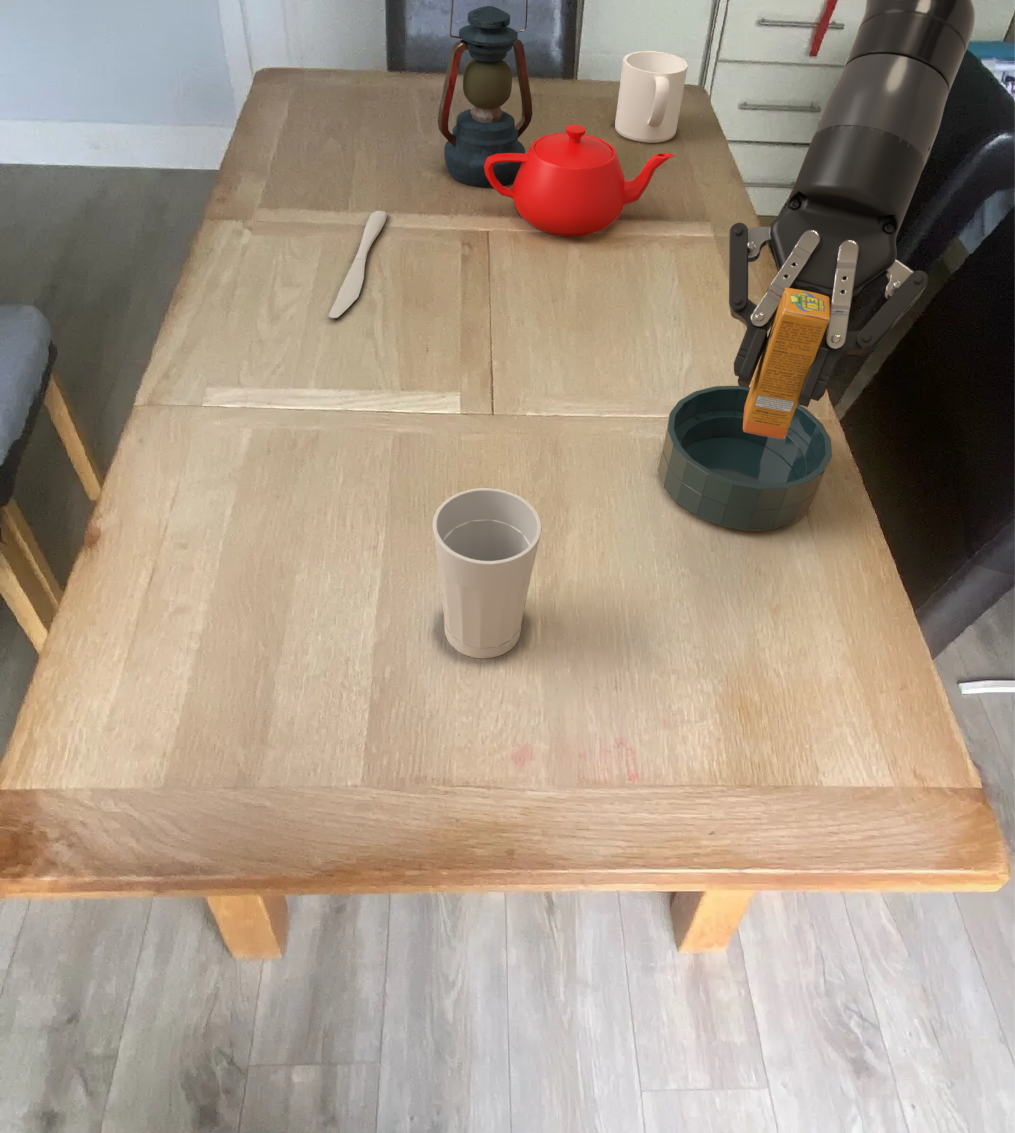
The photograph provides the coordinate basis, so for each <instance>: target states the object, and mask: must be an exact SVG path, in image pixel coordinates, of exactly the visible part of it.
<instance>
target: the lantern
mask: <svg viewBox="0 0 1015 1133" xmlns="http://www.w3.org/2000/svg"><path fill="white" fill-rule="evenodd" d="M454 1H455V0H451V5H450V6H451V7H450V23H449V37H450V38H453V39H460V40H459V41H457V42H455V43H454V44H453V46H452V47H451V49H450V54H449V58H448V63H447V68H446V73H445V78H444V84H443V88H442V94H441V98H440V103H439V108H438V114H437V126H438V130H439V132H440V133H441V135H442V136H443V137H444V138H445V139H446V140H447V141H446V142H445V144H444V148H443V156H444V162H445V165H446V168H447V170H448V173H449V174H450V176H451V177H452V178H453V179H454V180H456V181H458V182H460V183H462V184H465V185H469V186H473V187H482V188H493V187H492V186H491V184H490V182H489V181H488V179H487V177H486V175H485V169H484V165H485V162H486V160H487V158H488V157H489V156H492V155H494V154H500V153H523V154H526V148H525V146H524V145H523V144H522V142H520V141H519V138H520V137H521V136H522V135H523V133H524V132H525V131H526V130H527V129H528V127H529V126H530V124H531V122H532V118H533V113H534V112H533V101H532V100H533V99H532V92H531V86H530V80H529V72H528V66H527V59H526V58H527V57H526V52H525V45H524V44H523V42H522V40H520V38H518V36H519V34H518V33H522V32H524V31H526V30H527V23H528V7H529V6H528V4H529V0H525V24H524V28H523V29H520V30H515V29H514V28H512V27H510V26H509V25H510V24H511V15H510V13H508V12H506V11H504V10H502V9H501V8H499V7H495V6H492V5H484V6H480V7H477V8H475V9H472V10H470V11H469V12H467V19H466V20H467V23H468V25H464V26H462V27H461V28H459V31H458V35H452V27H453V12H454ZM512 48H513V53H514V59H515V67H516V73H517V81H518V86H519V93H520V98H521V99H520V100H521V111H522V112H521V118H520V119H519V121H518V122H517V123H515V122H516V121H515V118H514V116H513V115H511V114H510V113H509V112H506V111H504V110H502V108H501V107H502V106H503V105H504V104H506V103H507V101H508V100H509V99H510V97H511V94H512V89H513V73H512V69H511V67H510V66H509V64H508V63H507V62H506V61H505V60H504V59H506V57H507V55H508V52H510V51H511V50H512ZM465 51H468V54H469V55H470V57H471V59H470V60H469V61H468V62H467V63H466V64H465V66H464V70H463V73H462V91H463V95H464V97H465V99H466V100H467V102H469V103H470V105H472V106H471V108H468V109H466V110H463V111H462V112H460V113H458V114H457V116H456V120H455V125H454V126H453V128H452V133H451V131H450V129H449V120H450V110H451V107H452V106H451V105H452V102H453V99H454V98H453V97H454V93H455V88H456V82H457V79H458V75H459V74H458V73H459V68H460V64H461V59H462V56H463V53H464V52H465ZM521 164H522V162H499V163H496V164H494V165H493V171H494V174H495V176H496V179H497V180H498V181H499V182H500V184H501V185H502V186H505V185H509V184H511V183H514V181H515V178H516V176H517V173H518V171H519V168H520V166H521Z"/></svg>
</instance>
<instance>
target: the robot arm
mask: <svg viewBox="0 0 1015 1133" xmlns="http://www.w3.org/2000/svg"><path fill="white" fill-rule="evenodd" d="M975 12H976V11H975V6H974V4H973V1H972V0H865V9H864V14H863V17H862V20H861V22H860V25H859V28H858V30H857V32H856V34H855V37H854V40H853V43H852V44H851V47H850V50H849V52H848V56H847V58H846V60H845V62H844V65H843V68H842V71H841V74H840V76H839V78H838V79H837V81H836V83H835V85H834V87H833V89H832V90H831V92H830V94H829V96H828V98H827V100H826V103H825V105H824V107H823V110H822V113H821V115H820V117H819V120H818V122H817V126H816V128H815V130H814V134H813V136H812V138H811V141H810V144H809V147H808V149H807V151H806V154H805V157H804V159H803V162H802V163H801V167H800V170H799V172H798V175H797V177H796V179H795V182H794V185H793V187H792V190H791V193H790V195H789V198H788V201H787V203H786V206H785V208H784V209H783V210H782V212H781V213H780V214H779V215H778V216H777V217H775V219H773V220H772V222H771V224H770V225H767V226H757V227H756V226H755V227H747V225H746V224H745V223H743V222H735V223H734V224H733V225H732V226H731V227H730V229H729V239H728V240H729V242H728V243H729V246H728V247H729V250H728V252H729V253H728V254H729V256H728V257H729V259H728V261H729V262H728V306H729V312H730V315H731V317H732V319H735V320H738V321H739V322H741V323H742V324H743V325H744V326H745V327H746V329H745V332H744V336H743V337H742V340H741V343H740V345H739V348H738V351H737V353H736V356H735V358H734V361H733V374H734V376H735V377H738V378H737V386H742V387H745V388H749V387H750V386H751V384H752V381H753V379H754V376H755V373H756V370H757V367H758V364H759V361H760V358H761V355H762V352H763V350H764V346H765V344H766V340H767V338H768V333H769V331H770V329H771V326H772V323H773V320H774V318H775V315H776V312H777V309H778V306H779V303H780V301H781V298H782V295H783V293H784V291H785V288H793V289H798V290H804V291H809V292H814V293H818V294H821V295H825V296H828V297H829V298H830V320H829V323H828V325H827V327H826V334H825V339H824V342H823V344H822V346H821V345H820V346H819V348H818V351H817V354H816V357H815V359H814V362H813V364H812V366H811V369H810V371H809V374H808V376H807V379H806V381H805V384H804V387H803V389H802V392H801V394H800V397H799V400H798V404H799V405H800V406H802V407H804V408H808V407H809V406H810V403H811V400H813V401H816V402H819V401H820V400H821V399H822V398H823V397H824V395H825V393H826V391H827V388H828V386H829V383H830V381H831V378H832V375H833V373H834V370H835V368H836V366H837V364H838V361H839V360H840V359H841V358H842V357H844V356H849V355H857V356H859V357H867V356H868V355H870V354H871V352H872V351H873V350H874V349H875V348H876V347H877V345H878V344H880V342H881V341H882V340H883V339H884V338H885V337H886V335H887V334H888V333H889V332H890V331H891V330H892V329H893V328H894V326H895V325H897V323H898V322H899V321H900V320H901V319H902V317H903V316H904V315H905V314H906V313H907V312H908V311H909V310H910V309H911V308H912V306H913V305H914V304H915V303H916V302H917V301H918V299H920V298H921V296H922V295H923V292H924V291H925V289H926V287H927V285H928V283H929V275H928V273H926V272H925V271H924V270H919V269H918V270H915V271H914V270H912V269H911V268H909V266H907V265H906V264H904V263H902V262H901V261H900V260H898V259H897V257H898V249H897V236H898V234H899V231H900V229H901V226H902V224H903V221H904V219H905V216H906V214H907V211H908V209H909V206H910V204H911V201H912V199H913V196H914V194H915V191H916V189H917V187H918V184H919V181H920V179H921V175H922V173H923V171H924V169H925V167H926V166H927V163H928V162H929V160H930V157H931V152H932V148H933V146H934V143H935V140H936V138H937V135H938V133H939V130H940V127H941V123H942V119H943V114H944V110H945V107H946V103H947V100H948V96H949V94H950V92H951V89H952V87H953V84H954V82H955V80H956V77H957V74H958V71H959V69H960V67H961V64H962V61H963V59H964V56H965V54H966V51H967V49H968V46H969V45H970V44H969V43H970V41H971V38H972V35H973V32H974V27H975V21H976V13H975ZM767 245H770V249H771V252H772V256H773V260H774V263H775V266H776V271H777V273H776V275H775V276H774V278H773V279H772V280H771V282H770V284H769V285H768V287H767V289H766V292H765V293H764V295H763V296H762V298H761V299H760V301H759V302H758V303H757V304H756V303H754V302H753V301H752V300H751V299H749V263H753V262H755V261H757V260H758V259H759V258H760V256H761V251H762V249H763V248H764V247H765V246H767ZM884 276H885V277H887V280H888V283H887V285H886V286H885V289H884V297H885V298H886V299H887V300H886V301H885V303H883V305H882V306H881V307H880V308H879V309H878V311H876V313H875V314H874V315H872V317H871V318H870V319H869V320H868V321H867V323H866V324H865V325H864V326H863V328H861V330H852V331H851V330H850V331H848V324H849V319H850V318H849V317H850V311H851V305H852V300H853V298H854V297H855V296H857V295H858V294H860V293H861V292H862V291H864V290H865V289H867V288H869V286H871V285H873V284H874V283H875V282H877V281H878V280H880V279H881V278H883V277H884Z"/></svg>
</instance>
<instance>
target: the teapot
mask: <svg viewBox="0 0 1015 1133" xmlns="http://www.w3.org/2000/svg"><path fill="white" fill-rule="evenodd" d="M586 131H587V128H586V127H585V126H584V125H581V124H568V125H566V126H565V132H554V133H550V134H546V135H542V136H541V137H539V138H537V139H535V140H534V141H532V143H531V145H530V146H529V148H528V151H527V152H526V153H525V154H523V153H500V154H494V155H492V156H489V157H488V158H487V160H486V162H485V165H484V169H485V175H486V177H487V179H488V181H489V182H490V184H491V186H492V187H491V188H493V189H494V190H495V191H496V192H497V193H498V194H499V195H501V196H504V197H508V198H511V199H512V201H513V204H514V206H515V208H516V211H517V212H518V214H519V215H520V216H521V218H523V220H525V221H526V222H527V223H529V224H530V225H531V226H533V227H534V228H536V229H538V230H540V231H542V232H545V233H547V234H550V235H554V236H560V237H567V238H570V237H585V236H588V235H592V234H596V233H598V232H601V231H604V230H605V229H607V228H608V227H610V226H611V225H612V224H613V223H615V222H616V221H617V220H618V219H619V218H620V216H621V214H622V213H623V211H624V206H626V205H629V204H632V203H635V202H637V201H639V200H640V198H641V197H642V195H643V194H644V192H645V190H646V189H647V188H648V186H649V184H650V182H651V180H652V177H653V175H654V173H655V171H656V170H657V169H658V168H659V167H660V166H662V165H664V163H665V162H667V161H668V160H669V159H671V158H673V157H674V156H675V154H673V153H668V152H660V153H656V154H654V155H652V156H651V157H650V159H649V160H648V161H647V162H646V163H645V164H644V167H643V168H642V170H641V171H640V173H638V175H636V176H635V177H634V178H633V179H625V175H624V172H623V168H622V165H621V162H620V160H619V155H618V153H617V150H616V148H615V147H614V146H613V145H612V144H611V143H609V142H607V141H605V140H604V139H602V138H599V137H596V136H594V135H589V134H586ZM499 162H522V164H521V166H520V168H519V171H518V173H517V176H516V178H515V180H514V181H513V184H512V188H511V187H508V186H505V185H501V184H500V182H499V181H498V180H497V179H496V176H495V174H494V171H493V165H494V164H496V163H499Z"/></svg>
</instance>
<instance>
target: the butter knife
mask: <svg viewBox="0 0 1015 1133" xmlns="http://www.w3.org/2000/svg"><path fill="white" fill-rule="evenodd" d="M387 217H388V216H387V213H386V212H385V211H384V210H380V209H379V210H375V211H374V212H372V213H371V214H370V216H369V218H368V219H367V222H366V224H365V227H364V229H363V234H362V238H361V241H360V244H359V248H358V251H357V253H356V255H355V257H354V260H353V262H352V264H351V266H350V268H349V270H348V272H347V275H346V276H345V278H344V280H343V282H342V285H341V286H340V289H339V291H338V293H337V295H336V298H335V300H334V303H333V305H332V307H331V309H330V311H329V313H328V315H327V317H329V318H330V319H339V317H340V316H341V315H342V314H344V313H345V312H346V311H347V310H348V309H349V308H350V306H352V305H353V303H354V302H355V301H356V300H357V299H358V298H359V295H360V293H361V290H362V286H363V283H364V279H365V268H366V267H365V266H366V262H367V256H368V254H369V251H370V249H371V247H372V244H373V243H374V241H375V240H376V238H378V236H379V234H380V232H381V231H382V229H383V227H384V225H385V223H386V221H387Z"/></svg>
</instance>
